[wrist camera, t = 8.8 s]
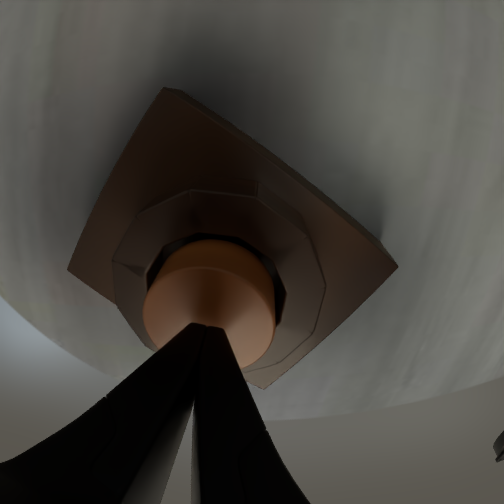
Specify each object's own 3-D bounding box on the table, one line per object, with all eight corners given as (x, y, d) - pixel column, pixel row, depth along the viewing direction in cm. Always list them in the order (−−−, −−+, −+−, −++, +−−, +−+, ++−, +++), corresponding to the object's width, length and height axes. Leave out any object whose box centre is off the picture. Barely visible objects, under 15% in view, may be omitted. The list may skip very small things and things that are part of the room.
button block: (381, 242, 13) (418, 293, 9) (264, 357, 16) (263, 421, 12) (180, 89, 11) (141, 82, 7) (89, 247, 13) (43, 293, 10)
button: (298, 283, 10) (304, 318, 8) (230, 352, 11) (225, 390, 9) (197, 214, 9) (183, 238, 7) (140, 298, 10) (122, 331, 9)
